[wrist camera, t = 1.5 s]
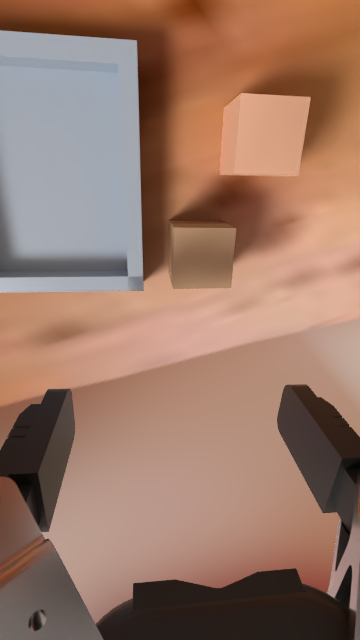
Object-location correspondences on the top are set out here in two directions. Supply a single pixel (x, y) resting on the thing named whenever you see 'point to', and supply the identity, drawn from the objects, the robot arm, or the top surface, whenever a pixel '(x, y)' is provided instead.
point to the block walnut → (201, 253)
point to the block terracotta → (263, 135)
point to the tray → (69, 164)
